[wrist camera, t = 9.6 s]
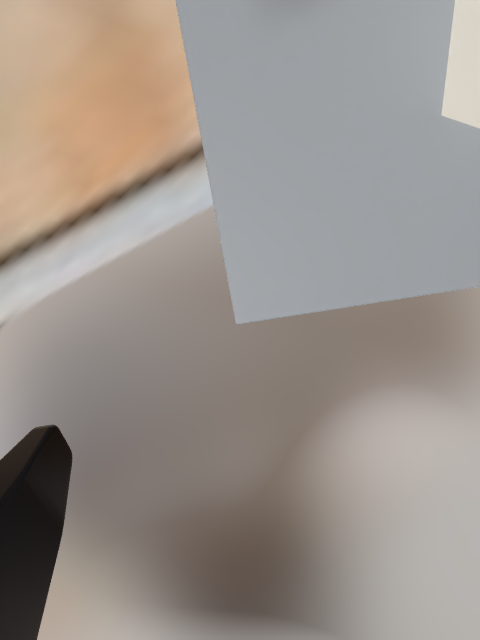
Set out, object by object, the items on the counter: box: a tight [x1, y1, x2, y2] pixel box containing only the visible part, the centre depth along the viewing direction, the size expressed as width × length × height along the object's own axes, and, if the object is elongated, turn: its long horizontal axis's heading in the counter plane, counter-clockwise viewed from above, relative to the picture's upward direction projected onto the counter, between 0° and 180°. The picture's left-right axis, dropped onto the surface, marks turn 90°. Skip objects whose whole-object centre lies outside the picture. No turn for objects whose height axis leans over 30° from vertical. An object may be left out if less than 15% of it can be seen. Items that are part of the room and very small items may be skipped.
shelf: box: [176, 0, 480, 324], centre depth 15 cm, size 16×18×6 cm
